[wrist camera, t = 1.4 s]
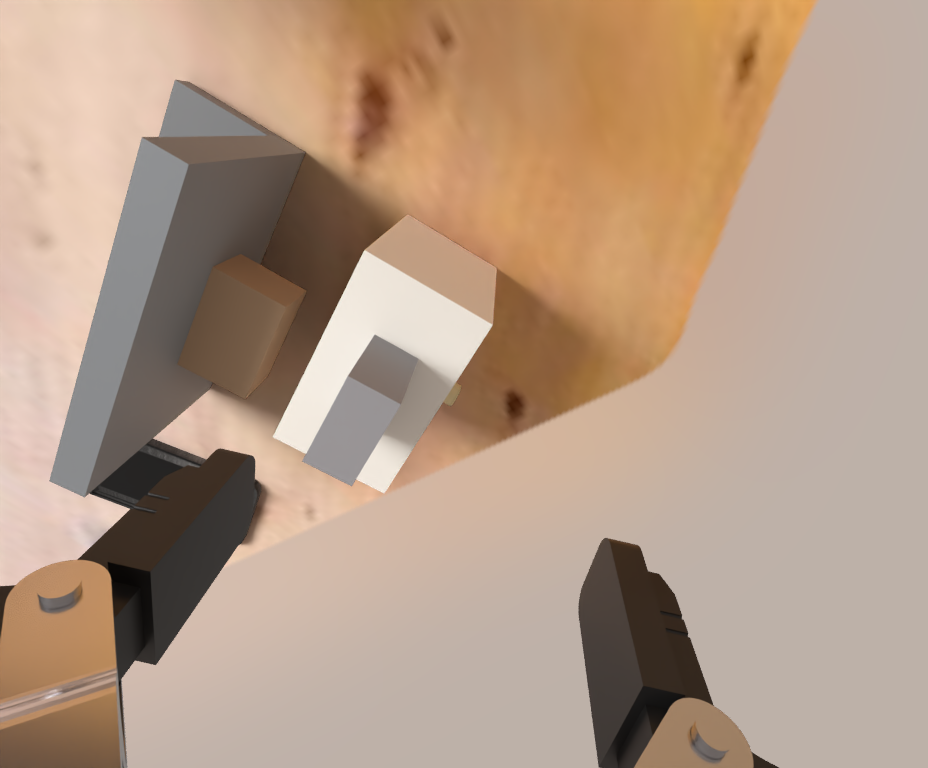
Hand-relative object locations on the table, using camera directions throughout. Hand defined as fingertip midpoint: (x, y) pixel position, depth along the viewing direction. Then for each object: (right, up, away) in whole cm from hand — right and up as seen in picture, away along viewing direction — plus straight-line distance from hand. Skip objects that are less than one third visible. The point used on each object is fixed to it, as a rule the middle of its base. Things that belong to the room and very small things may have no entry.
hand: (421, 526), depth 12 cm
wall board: (-15, +11, +26) cm, 32 cm away
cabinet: (-3, +8, +26) cm, 28 cm away
